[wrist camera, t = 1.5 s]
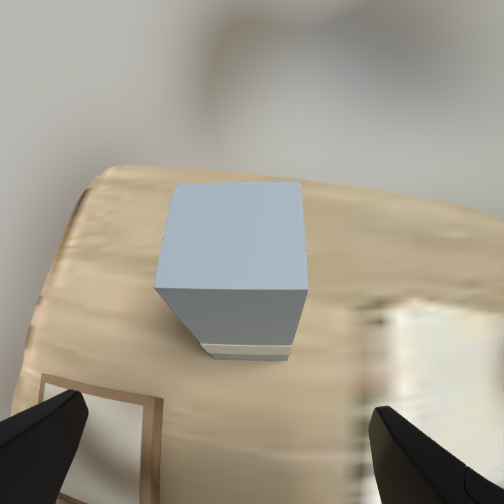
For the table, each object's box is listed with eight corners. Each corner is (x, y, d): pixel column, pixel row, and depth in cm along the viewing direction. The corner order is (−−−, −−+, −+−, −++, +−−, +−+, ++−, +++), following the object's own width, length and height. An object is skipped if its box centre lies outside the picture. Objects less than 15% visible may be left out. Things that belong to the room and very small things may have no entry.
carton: (287, 361, 20) (309, 290, 9) (214, 359, 21) (152, 288, 10) (287, 299, 23) (301, 181, 12) (218, 299, 23) (174, 183, 12)
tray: (159, 522, 14) (149, 530, 12) (49, 485, 15) (34, 486, 13) (163, 398, 19) (153, 396, 17) (54, 377, 20) (40, 372, 18)
